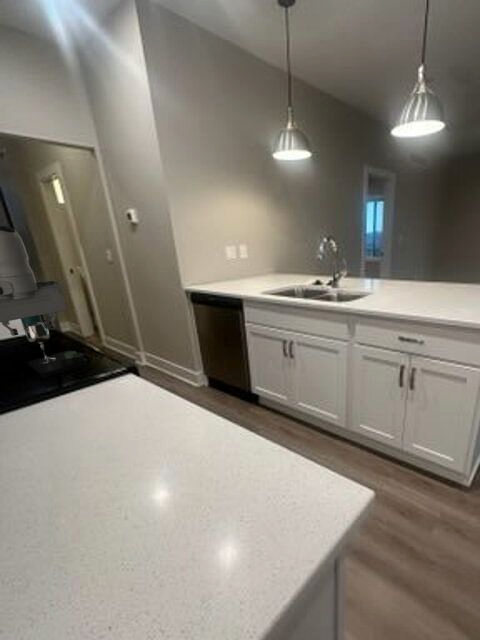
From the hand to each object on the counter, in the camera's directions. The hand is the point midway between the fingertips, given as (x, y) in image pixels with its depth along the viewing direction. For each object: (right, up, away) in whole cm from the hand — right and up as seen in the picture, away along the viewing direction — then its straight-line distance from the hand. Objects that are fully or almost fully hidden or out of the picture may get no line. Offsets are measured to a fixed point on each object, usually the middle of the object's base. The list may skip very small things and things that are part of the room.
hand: (34, 331), depth 104 cm
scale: (+5, -10, +4) cm, 12 cm away
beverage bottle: (-21, -1, +30) cm, 36 cm away
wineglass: (+1, -9, +4) cm, 10 cm away
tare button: (+10, -8, +2) cm, 13 cm away
